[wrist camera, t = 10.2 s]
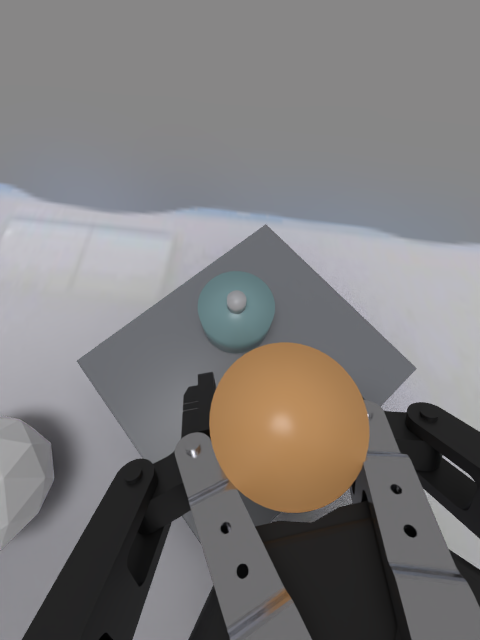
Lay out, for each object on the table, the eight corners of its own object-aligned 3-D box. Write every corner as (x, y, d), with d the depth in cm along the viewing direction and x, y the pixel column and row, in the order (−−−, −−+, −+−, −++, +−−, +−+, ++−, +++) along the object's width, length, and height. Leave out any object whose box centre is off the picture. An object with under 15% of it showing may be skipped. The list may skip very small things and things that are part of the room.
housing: (223, 550, 19) (217, 621, 12) (96, 368, 23) (39, 347, 16) (394, 374, 23) (458, 357, 16) (262, 244, 27) (271, 188, 20)
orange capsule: (257, 476, 16) (286, 557, 7) (209, 415, 17) (176, 410, 8) (311, 423, 17) (402, 429, 8) (263, 368, 18) (291, 314, 9)
